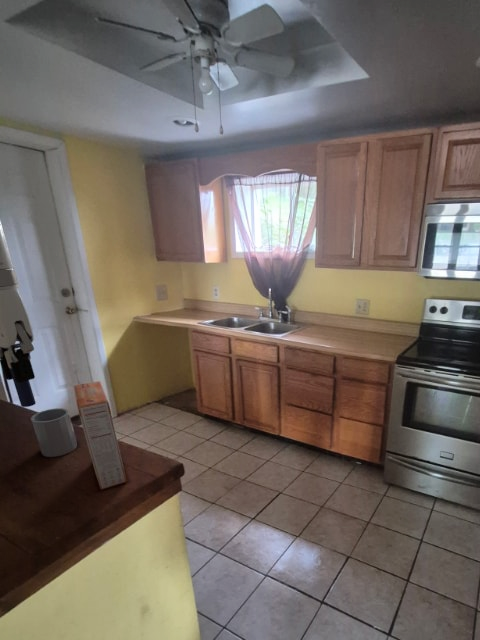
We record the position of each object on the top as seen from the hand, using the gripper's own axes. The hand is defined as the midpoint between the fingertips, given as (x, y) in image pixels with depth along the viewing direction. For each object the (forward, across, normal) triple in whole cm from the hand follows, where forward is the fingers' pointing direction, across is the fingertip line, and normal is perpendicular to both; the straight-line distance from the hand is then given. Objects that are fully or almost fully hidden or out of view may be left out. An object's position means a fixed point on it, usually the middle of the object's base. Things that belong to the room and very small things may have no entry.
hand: (20, 378), depth 72 cm
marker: (+6, 0, 0) cm, 6 cm away
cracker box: (+27, +4, +10) cm, 29 cm away
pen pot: (+27, -17, +12) cm, 34 cm away
